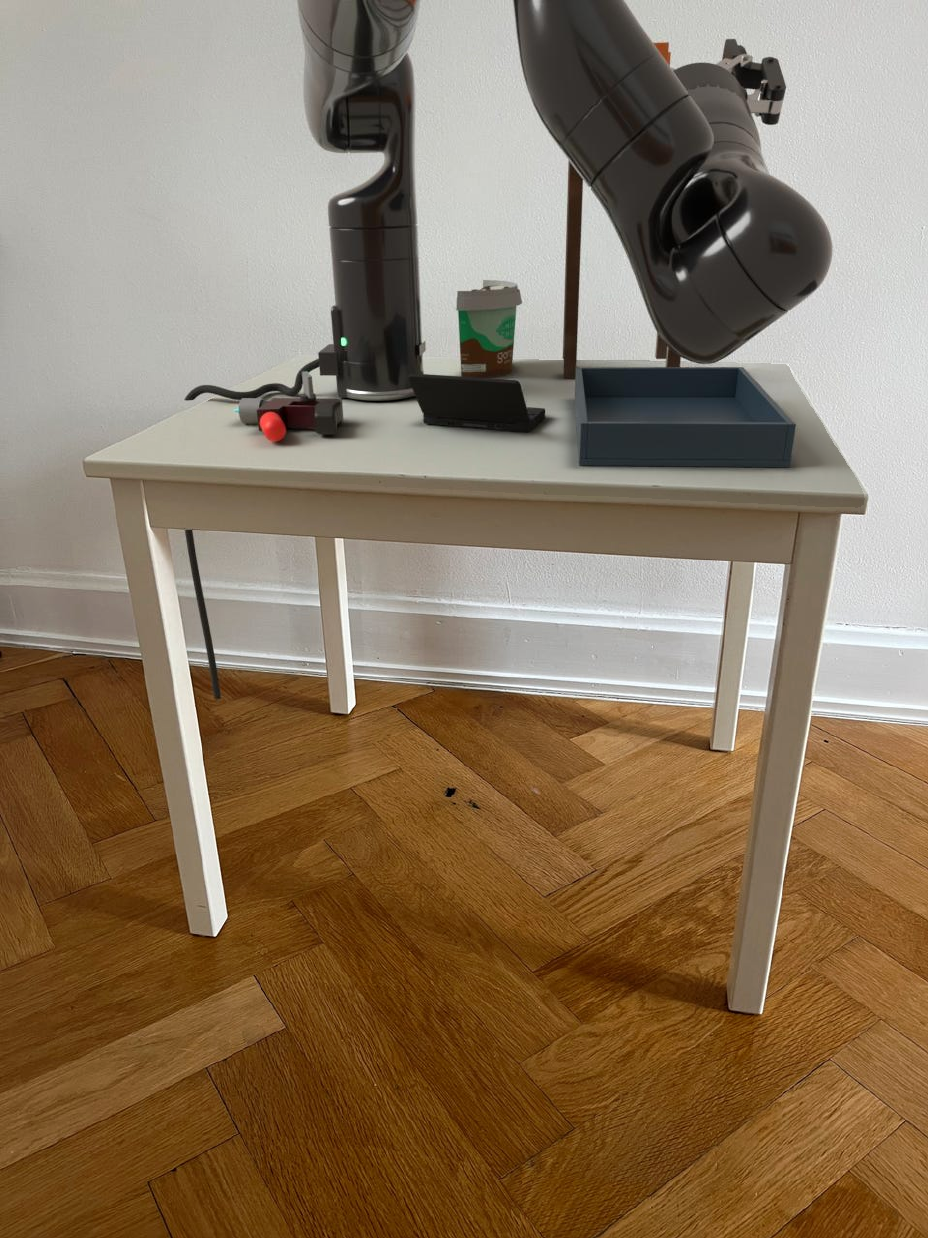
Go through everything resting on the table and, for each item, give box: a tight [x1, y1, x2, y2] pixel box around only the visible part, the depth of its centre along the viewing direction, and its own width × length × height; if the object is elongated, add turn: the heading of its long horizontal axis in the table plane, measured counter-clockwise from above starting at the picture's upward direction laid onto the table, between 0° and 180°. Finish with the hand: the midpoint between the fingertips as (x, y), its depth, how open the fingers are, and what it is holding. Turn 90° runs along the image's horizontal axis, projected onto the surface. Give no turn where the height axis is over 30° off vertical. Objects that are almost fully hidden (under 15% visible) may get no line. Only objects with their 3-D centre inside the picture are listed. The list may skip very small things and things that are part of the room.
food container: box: [455, 279, 523, 378], centre depth 109 cm, size 12×6×10 cm, turn 164°
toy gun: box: [232, 371, 345, 442], centre depth 86 cm, size 10×12×5 cm
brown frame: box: [562, 159, 682, 380], centre depth 105 cm, size 14×14×30 cm
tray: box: [574, 366, 797, 468], centre depth 84 cm, size 17×23×4 cm
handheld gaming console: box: [409, 373, 546, 433], centre depth 87 cm, size 12×7×10 cm
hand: (673, 53), depth 73 cm, fingers open, 8 cm apart
